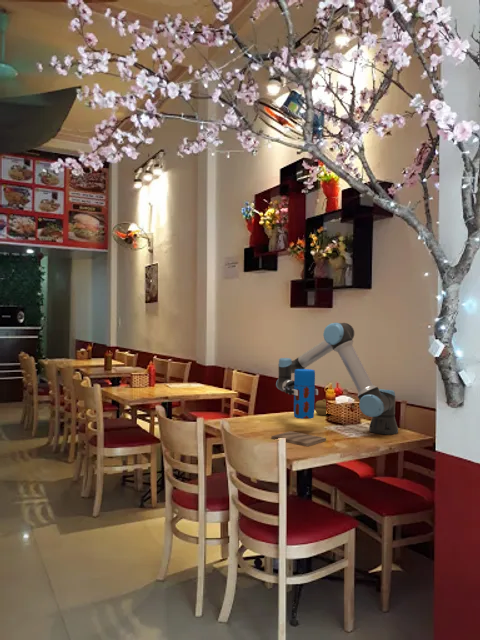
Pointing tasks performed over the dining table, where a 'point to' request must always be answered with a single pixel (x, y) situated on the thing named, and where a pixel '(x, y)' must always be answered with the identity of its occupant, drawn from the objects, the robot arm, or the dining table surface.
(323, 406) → the pot
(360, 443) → the dining table surface
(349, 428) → the dining table surface
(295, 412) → the thermos
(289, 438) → the serving board
